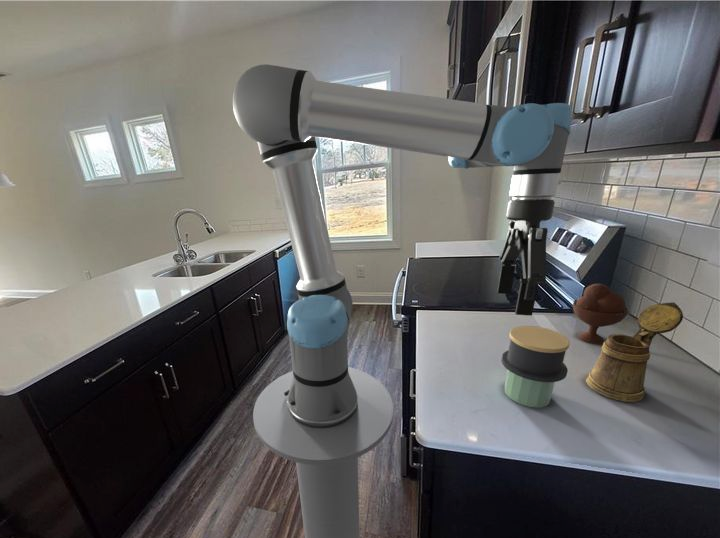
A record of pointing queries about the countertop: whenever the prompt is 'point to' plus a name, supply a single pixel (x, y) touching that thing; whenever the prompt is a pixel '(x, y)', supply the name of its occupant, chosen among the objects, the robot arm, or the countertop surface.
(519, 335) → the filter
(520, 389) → the cup
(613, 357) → the wooden mug
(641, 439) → the countertop surface
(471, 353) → the countertop surface
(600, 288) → the ice cream bowl
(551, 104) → the robot arm
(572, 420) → the countertop surface
